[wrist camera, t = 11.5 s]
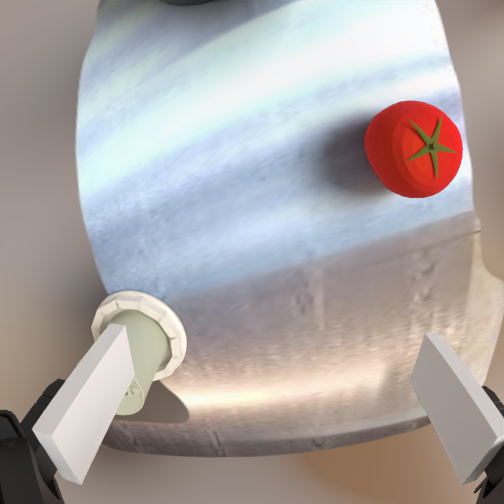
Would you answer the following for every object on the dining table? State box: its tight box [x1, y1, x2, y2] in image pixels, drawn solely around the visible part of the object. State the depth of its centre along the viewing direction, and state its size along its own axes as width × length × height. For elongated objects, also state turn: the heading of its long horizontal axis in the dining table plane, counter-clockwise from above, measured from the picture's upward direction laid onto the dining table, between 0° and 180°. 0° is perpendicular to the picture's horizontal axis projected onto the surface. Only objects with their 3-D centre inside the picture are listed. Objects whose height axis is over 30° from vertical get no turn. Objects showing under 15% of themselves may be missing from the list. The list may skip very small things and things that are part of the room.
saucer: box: [91, 290, 187, 381], centre depth 43 cm, size 14×14×2 cm
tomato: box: [364, 101, 463, 198], centre depth 30 cm, size 10×11×11 cm
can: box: [75, 310, 169, 415], centre depth 37 cm, size 9×9×12 cm
